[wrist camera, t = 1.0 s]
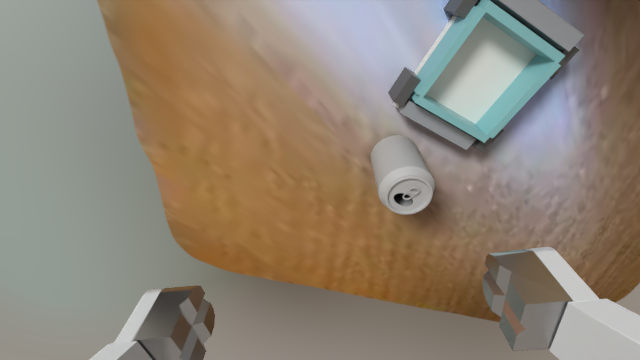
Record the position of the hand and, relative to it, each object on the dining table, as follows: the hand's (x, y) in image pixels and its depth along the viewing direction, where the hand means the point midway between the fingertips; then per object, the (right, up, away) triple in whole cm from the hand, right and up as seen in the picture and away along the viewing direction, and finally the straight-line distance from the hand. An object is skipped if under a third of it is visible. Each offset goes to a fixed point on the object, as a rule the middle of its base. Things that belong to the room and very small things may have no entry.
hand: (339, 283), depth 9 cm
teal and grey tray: (+20, +18, +34) cm, 43 cm away
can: (+11, +7, +41) cm, 44 cm away
